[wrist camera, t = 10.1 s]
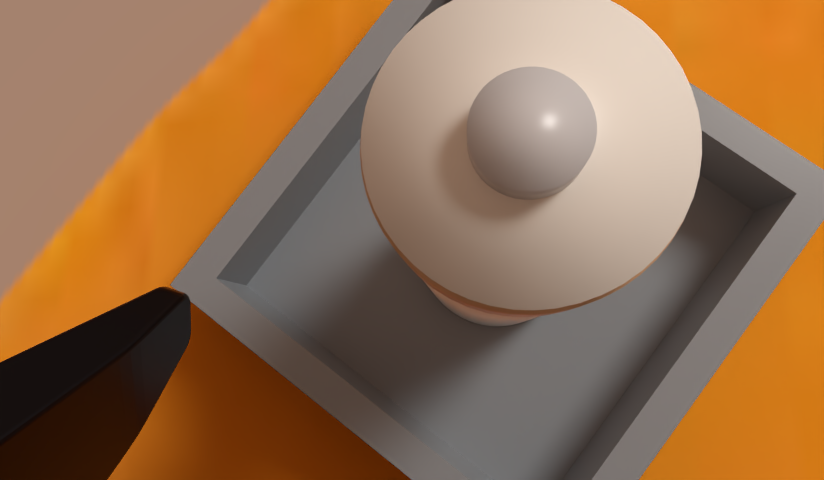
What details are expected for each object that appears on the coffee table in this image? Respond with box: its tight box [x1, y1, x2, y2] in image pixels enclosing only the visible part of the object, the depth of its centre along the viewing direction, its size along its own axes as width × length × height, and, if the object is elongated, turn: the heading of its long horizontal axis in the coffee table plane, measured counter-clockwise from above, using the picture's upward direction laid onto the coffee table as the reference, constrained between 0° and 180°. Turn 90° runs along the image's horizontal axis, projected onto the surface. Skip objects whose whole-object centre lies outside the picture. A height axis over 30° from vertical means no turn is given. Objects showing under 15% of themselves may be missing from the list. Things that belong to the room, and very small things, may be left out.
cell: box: [360, 0, 702, 327], centre depth 16 cm, size 5×5×14 cm
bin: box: [171, 0, 824, 480], centre depth 22 cm, size 14×14×4 cm
